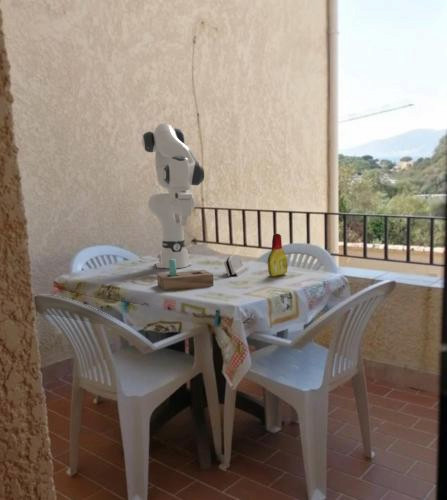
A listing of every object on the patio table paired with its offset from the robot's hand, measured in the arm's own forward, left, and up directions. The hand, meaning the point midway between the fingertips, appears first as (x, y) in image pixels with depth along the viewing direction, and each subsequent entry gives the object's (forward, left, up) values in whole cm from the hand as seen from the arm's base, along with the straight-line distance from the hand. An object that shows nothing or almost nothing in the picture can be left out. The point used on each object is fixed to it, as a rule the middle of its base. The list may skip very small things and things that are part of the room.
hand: (180, 224), depth 230 cm
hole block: (+7, -1, -26) cm, 27 cm away
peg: (+6, -6, -26) cm, 28 cm away
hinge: (-10, +30, -27) cm, 41 cm away
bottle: (+6, +45, -27) cm, 53 cm away
